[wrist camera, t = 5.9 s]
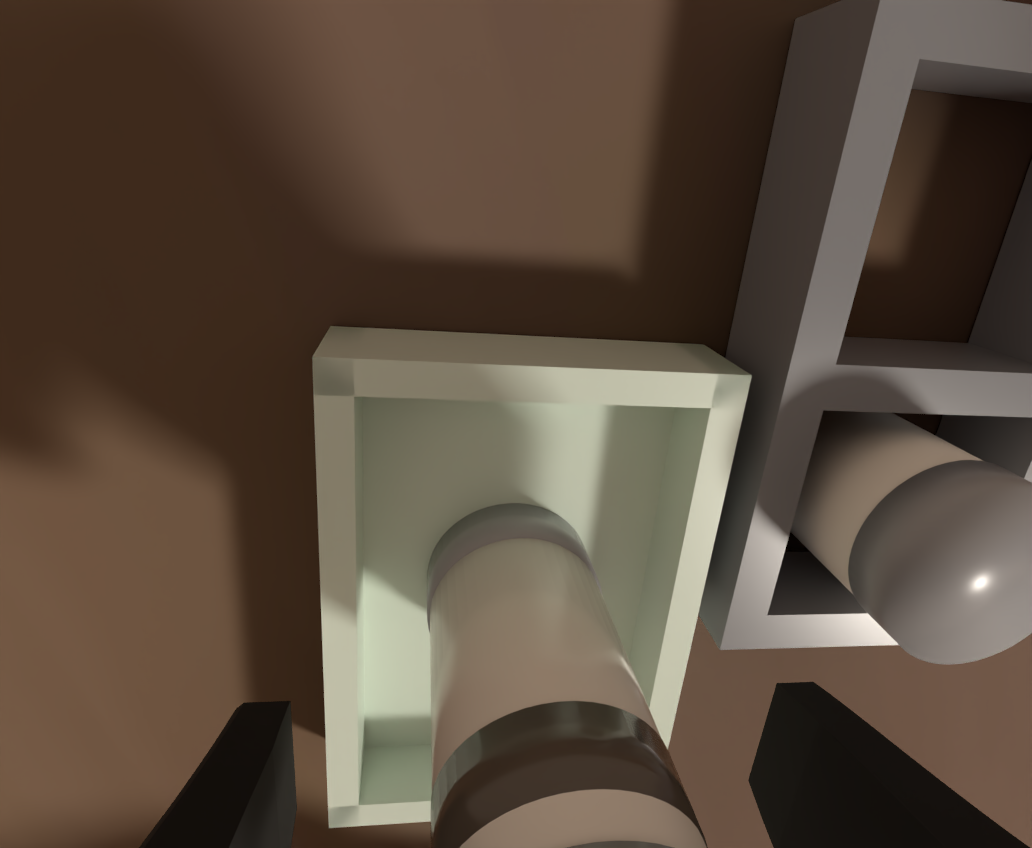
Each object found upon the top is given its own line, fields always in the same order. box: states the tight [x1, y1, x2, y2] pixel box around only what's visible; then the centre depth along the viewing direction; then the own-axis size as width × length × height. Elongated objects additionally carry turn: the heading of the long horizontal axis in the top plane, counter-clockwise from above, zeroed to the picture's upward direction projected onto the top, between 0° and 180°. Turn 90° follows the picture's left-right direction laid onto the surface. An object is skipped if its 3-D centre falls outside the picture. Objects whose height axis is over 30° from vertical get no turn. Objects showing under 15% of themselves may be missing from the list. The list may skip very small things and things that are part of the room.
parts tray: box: [312, 326, 752, 828], centre depth 13 cm, size 7×10×2 cm
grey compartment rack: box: [698, 0, 1032, 664], centre depth 11 cm, size 6×11×4 cm, turn 175°
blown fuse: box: [427, 503, 708, 848], centre depth 9 cm, size 3×3×8 cm
